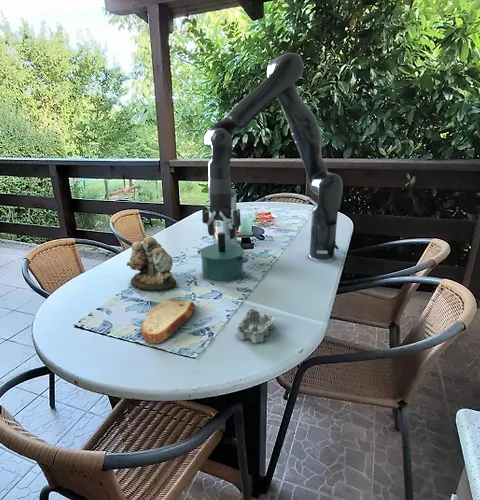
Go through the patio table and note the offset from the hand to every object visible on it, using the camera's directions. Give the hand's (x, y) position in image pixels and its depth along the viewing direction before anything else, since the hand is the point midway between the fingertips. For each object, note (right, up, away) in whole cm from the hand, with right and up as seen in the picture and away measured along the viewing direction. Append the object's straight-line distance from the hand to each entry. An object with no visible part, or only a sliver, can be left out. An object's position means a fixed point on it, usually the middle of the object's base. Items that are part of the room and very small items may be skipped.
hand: (221, 236), depth 128 cm
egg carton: (+8, -27, -31) cm, 41 cm away
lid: (0, -6, +2) cm, 6 cm away
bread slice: (-16, -25, -24) cm, 38 cm away
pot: (+1, -14, +5) cm, 14 cm away
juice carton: (+3, -4, +32) cm, 33 cm away
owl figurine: (-24, -17, 0) cm, 29 cm away
